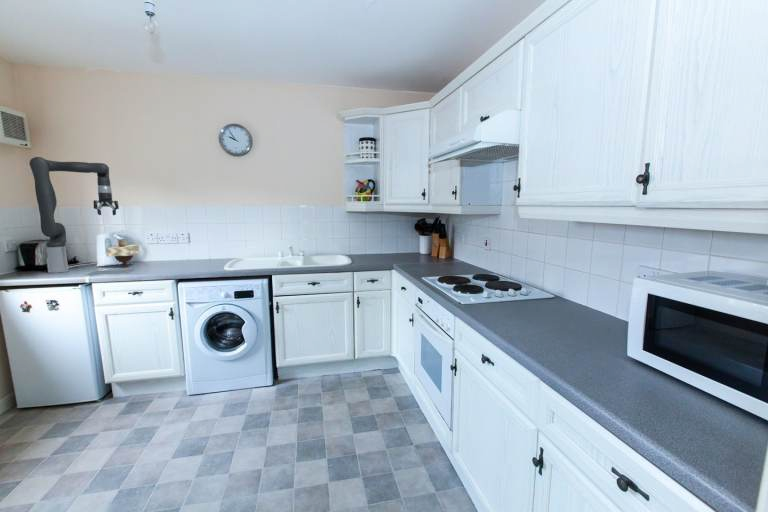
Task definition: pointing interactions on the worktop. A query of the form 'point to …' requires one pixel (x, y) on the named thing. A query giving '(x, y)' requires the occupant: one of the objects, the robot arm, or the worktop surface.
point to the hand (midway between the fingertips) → (107, 215)
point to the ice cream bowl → (124, 260)
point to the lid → (122, 249)
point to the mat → (111, 272)
